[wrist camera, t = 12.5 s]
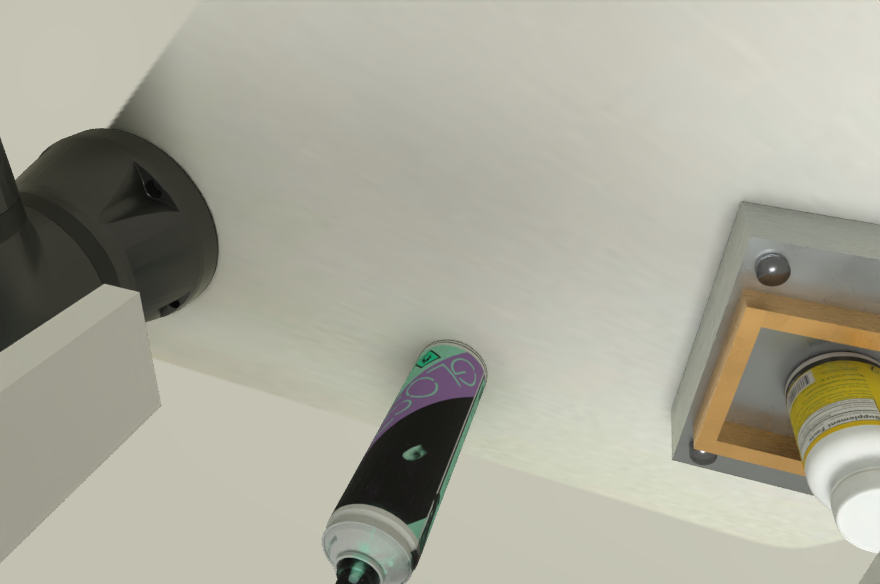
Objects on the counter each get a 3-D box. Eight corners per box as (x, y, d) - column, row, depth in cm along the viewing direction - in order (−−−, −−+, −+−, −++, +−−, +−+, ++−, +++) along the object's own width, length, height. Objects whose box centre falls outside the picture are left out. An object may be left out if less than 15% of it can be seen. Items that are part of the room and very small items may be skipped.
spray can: (474, 334, 48) (374, 557, 31) (496, 394, 50) (414, 633, 33) (408, 344, 50) (282, 557, 34) (432, 401, 52) (325, 628, 36)
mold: (671, 411, 46) (672, 482, 40) (741, 201, 38) (755, 253, 32) (888, 462, 43) (924, 547, 38) (1015, 247, 35) (1085, 313, 29)
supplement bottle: (904, 416, 36) (975, 561, 28) (797, 434, 39) (833, 573, 30) (882, 336, 34) (950, 467, 26) (771, 361, 37) (801, 487, 29)
